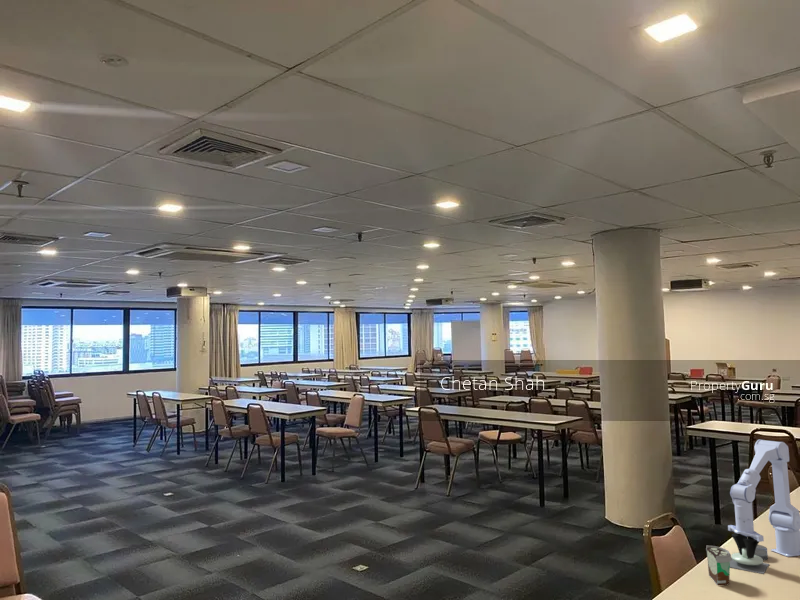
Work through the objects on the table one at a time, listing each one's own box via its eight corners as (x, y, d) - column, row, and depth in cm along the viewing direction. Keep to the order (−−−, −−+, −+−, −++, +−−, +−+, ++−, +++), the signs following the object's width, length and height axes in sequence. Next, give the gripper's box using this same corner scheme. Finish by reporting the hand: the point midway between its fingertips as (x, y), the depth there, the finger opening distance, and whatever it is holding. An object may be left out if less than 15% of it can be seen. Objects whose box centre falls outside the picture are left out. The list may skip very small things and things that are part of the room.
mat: (732, 558, 225) (732, 557, 225) (769, 564, 217) (769, 563, 217) (725, 566, 216) (725, 566, 216) (763, 574, 208) (763, 573, 208)
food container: (739, 588, 196) (736, 557, 197) (718, 587, 197) (716, 556, 198) (726, 574, 208) (724, 545, 209) (707, 573, 209) (705, 544, 210)
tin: (754, 551, 232) (753, 542, 232) (773, 559, 223) (772, 549, 223) (735, 553, 230) (734, 544, 230) (753, 561, 221) (753, 551, 221)
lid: (746, 554, 223) (745, 543, 223) (769, 563, 213) (769, 551, 214) (725, 557, 220) (724, 546, 220) (747, 566, 211) (747, 555, 211)
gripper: (720, 513, 224) (722, 550, 223) (750, 524, 210) (753, 563, 209) (735, 512, 226) (738, 549, 225) (767, 522, 212) (770, 561, 211)
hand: (746, 556), depth 217 cm, fingers closed on lid, 3 cm apart
